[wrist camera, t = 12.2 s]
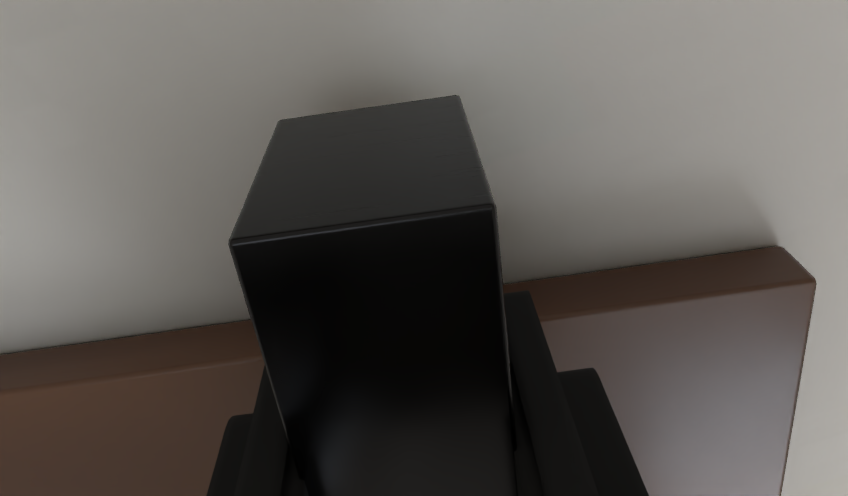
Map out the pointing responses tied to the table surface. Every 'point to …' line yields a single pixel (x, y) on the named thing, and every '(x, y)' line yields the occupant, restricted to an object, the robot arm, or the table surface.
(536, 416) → the robot arm
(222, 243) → the table surface
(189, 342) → the board
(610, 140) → the table surface
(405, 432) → the table knife
